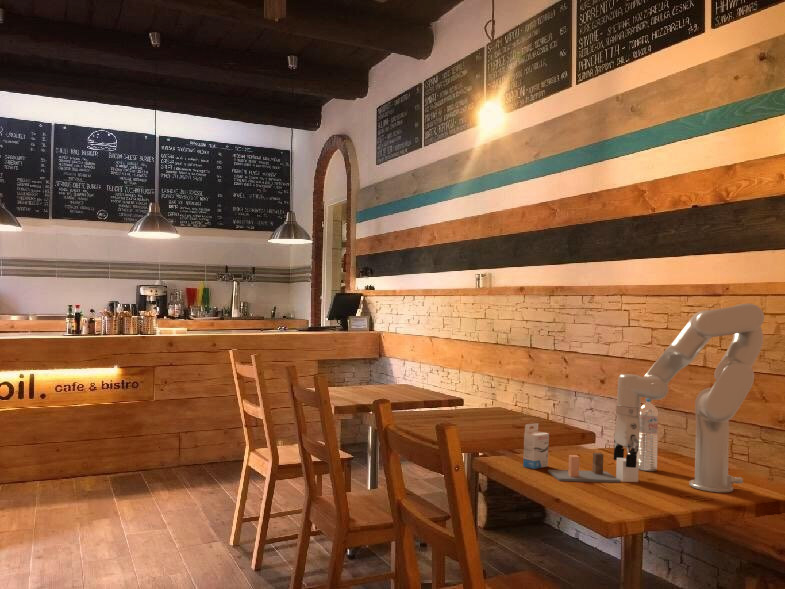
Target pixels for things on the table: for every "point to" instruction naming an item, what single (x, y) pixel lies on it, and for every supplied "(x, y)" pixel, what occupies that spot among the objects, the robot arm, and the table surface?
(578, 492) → the table surface
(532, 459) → the ink box
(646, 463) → the water bottle
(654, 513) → the table surface
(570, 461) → the post
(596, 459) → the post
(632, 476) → the white block
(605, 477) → the board
